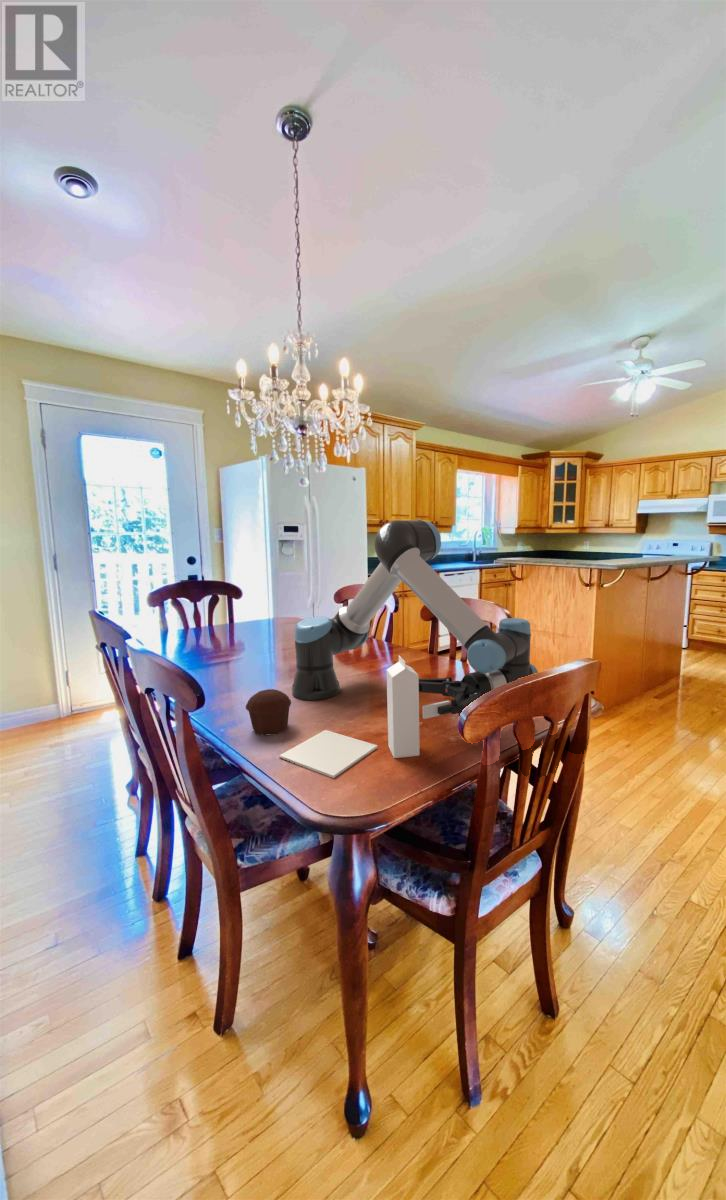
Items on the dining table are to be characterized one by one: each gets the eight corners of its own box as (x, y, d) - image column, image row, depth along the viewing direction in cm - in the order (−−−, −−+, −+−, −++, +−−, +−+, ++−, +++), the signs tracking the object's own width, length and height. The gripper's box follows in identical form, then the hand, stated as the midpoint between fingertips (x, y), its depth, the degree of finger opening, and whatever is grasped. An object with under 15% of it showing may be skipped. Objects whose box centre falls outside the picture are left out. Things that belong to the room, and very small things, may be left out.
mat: (325, 732, 117) (325, 729, 117) (377, 747, 108) (377, 745, 108) (279, 757, 104) (279, 755, 104) (333, 778, 95) (333, 775, 95)
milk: (412, 744, 109) (411, 654, 106) (419, 756, 103) (419, 661, 100) (387, 746, 108) (386, 655, 105) (393, 758, 102) (392, 662, 99)
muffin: (286, 716, 128) (284, 681, 126) (298, 731, 118) (296, 694, 117) (243, 725, 123) (240, 689, 122) (251, 741, 113) (249, 702, 112)
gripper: (519, 719, 102) (438, 739, 93) (452, 686, 124) (383, 700, 116) (519, 686, 101) (438, 704, 92) (452, 659, 123) (382, 671, 115)
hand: (407, 702), depth 104 cm, fingers open, 13 cm apart
